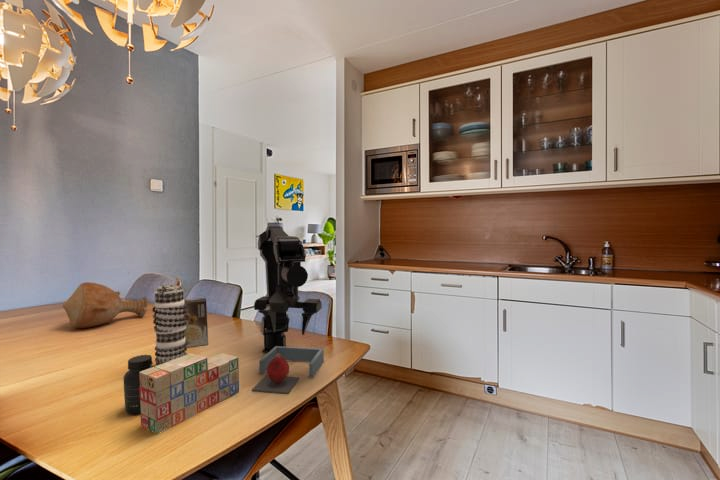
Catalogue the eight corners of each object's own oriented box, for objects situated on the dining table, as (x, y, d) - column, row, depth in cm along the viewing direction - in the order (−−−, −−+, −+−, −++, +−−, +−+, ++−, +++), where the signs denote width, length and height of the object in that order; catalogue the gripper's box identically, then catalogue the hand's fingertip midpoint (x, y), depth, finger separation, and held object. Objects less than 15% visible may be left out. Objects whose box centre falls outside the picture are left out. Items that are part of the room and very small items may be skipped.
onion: (283, 389, 91) (283, 358, 90) (263, 387, 92) (262, 357, 91) (292, 379, 96) (292, 350, 96) (273, 377, 97) (272, 349, 97)
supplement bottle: (135, 401, 85) (133, 353, 85) (164, 399, 86) (162, 352, 86) (118, 416, 79) (116, 364, 78) (149, 415, 79) (148, 363, 79)
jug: (54, 298, 150) (132, 295, 173) (57, 339, 142) (139, 329, 166) (68, 273, 140) (148, 273, 164) (72, 315, 133) (156, 309, 157)
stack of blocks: (223, 386, 93) (222, 341, 93) (239, 392, 90) (238, 345, 90) (140, 427, 75) (138, 370, 74) (156, 435, 72) (155, 377, 71)
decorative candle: (154, 376, 99) (151, 289, 98) (153, 365, 107) (151, 285, 106) (189, 369, 104) (187, 286, 103) (186, 359, 112) (184, 282, 111)
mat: (251, 391, 90) (251, 389, 90) (266, 376, 99) (266, 374, 99) (288, 394, 89) (288, 392, 89) (299, 378, 98) (299, 377, 98)
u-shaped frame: (259, 374, 101) (259, 360, 100) (275, 358, 112) (275, 346, 112) (312, 377, 98) (312, 363, 98) (323, 361, 110) (323, 348, 110)
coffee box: (208, 339, 131) (207, 297, 130) (208, 345, 125) (207, 300, 124) (180, 343, 127) (179, 299, 126) (179, 348, 121) (178, 303, 121)
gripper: (244, 284, 94) (245, 340, 95) (310, 287, 91) (310, 345, 92) (262, 277, 105) (263, 328, 106) (322, 280, 102) (322, 332, 103)
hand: (288, 333), depth 101 cm, fingers open, 9 cm apart
